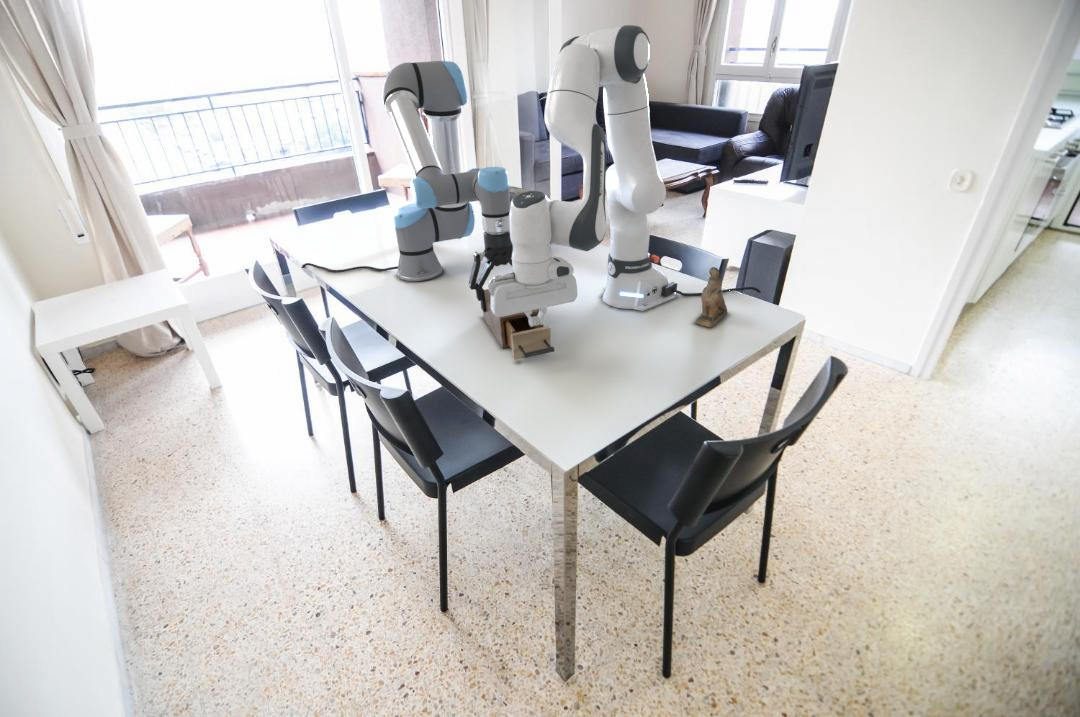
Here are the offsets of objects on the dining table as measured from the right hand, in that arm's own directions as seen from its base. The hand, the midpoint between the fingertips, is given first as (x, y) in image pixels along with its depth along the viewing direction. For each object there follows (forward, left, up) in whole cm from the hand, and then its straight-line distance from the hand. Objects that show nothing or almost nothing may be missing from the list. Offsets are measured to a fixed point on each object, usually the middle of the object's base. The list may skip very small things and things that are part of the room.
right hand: (535, 324), depth 117 cm
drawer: (-1, -9, -10) cm, 13 cm away
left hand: (-2, -26, -7) cm, 27 cm away
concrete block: (-35, -86, -11) cm, 93 cm away
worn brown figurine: (-53, +2, -11) cm, 54 cm away
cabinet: (-2, -20, -11) cm, 23 cm away
